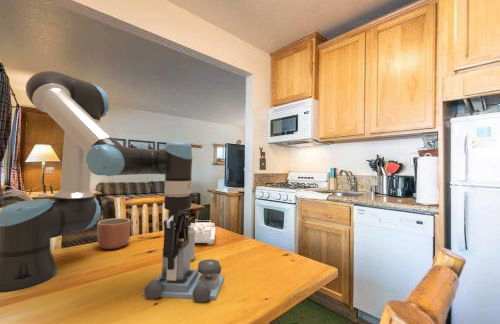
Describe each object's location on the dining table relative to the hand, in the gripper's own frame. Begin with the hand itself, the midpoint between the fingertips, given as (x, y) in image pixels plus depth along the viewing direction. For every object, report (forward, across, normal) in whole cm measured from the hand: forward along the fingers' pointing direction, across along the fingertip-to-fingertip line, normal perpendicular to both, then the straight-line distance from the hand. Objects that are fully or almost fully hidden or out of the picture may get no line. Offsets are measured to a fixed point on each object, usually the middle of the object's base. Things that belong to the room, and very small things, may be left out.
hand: (176, 274), depth 69 cm
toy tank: (+4, +40, +4) cm, 40 cm away
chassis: (+3, 0, -3) cm, 5 cm away
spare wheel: (0, 0, -10) cm, 10 cm away
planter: (+4, +29, +39) cm, 49 cm away
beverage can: (+4, +19, +4) cm, 20 cm away
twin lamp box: (0, 0, 0) cm, 0 cm away
